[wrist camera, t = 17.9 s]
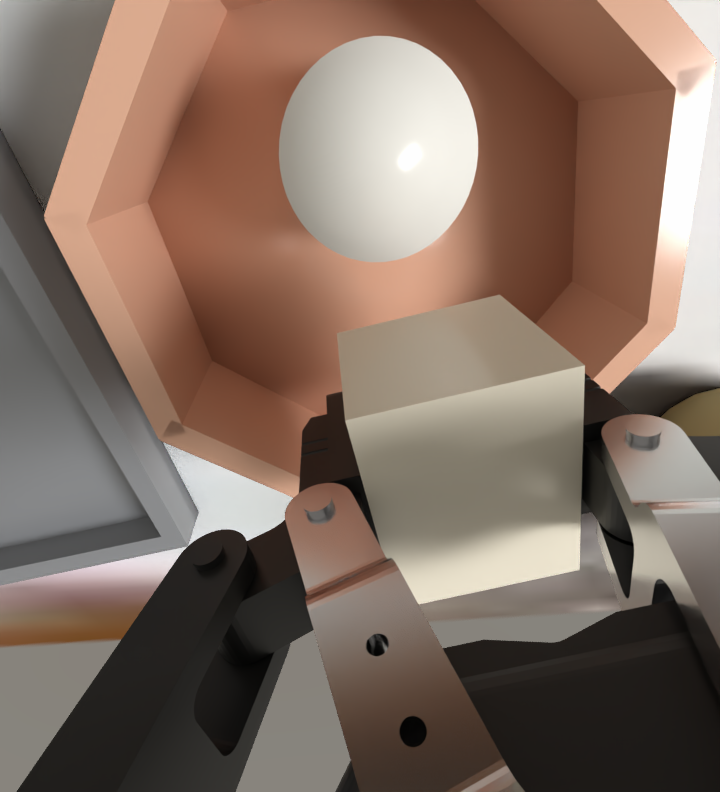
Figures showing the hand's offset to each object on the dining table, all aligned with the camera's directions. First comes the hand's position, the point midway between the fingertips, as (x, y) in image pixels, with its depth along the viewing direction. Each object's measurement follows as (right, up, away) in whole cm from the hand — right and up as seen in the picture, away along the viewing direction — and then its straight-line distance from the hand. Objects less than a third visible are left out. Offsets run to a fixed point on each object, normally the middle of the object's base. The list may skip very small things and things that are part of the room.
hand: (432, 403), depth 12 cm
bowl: (-1, +5, +4) cm, 7 cm away
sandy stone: (0, 0, 0) cm, 0 cm away
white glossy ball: (-2, +7, +2) cm, 8 cm away
